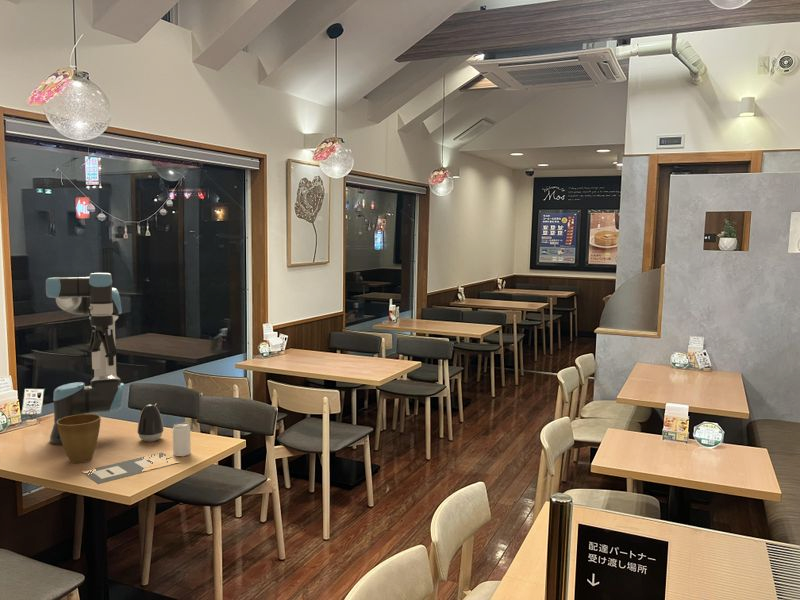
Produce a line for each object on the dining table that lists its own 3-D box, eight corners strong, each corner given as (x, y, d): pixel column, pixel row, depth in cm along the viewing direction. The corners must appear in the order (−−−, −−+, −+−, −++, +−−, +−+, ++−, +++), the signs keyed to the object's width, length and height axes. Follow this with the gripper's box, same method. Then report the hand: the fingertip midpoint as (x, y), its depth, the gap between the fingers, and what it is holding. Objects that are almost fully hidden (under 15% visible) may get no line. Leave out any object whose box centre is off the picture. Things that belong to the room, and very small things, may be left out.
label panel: (81, 471, 225) (81, 471, 224) (161, 452, 246) (161, 452, 246) (98, 483, 213) (98, 483, 213) (180, 462, 235) (180, 462, 235)
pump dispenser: (168, 436, 266) (168, 402, 265) (155, 444, 256) (154, 408, 255) (146, 435, 268) (146, 400, 267) (132, 442, 258) (131, 406, 256)
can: (185, 457, 241) (184, 427, 239) (170, 456, 242) (169, 426, 241) (193, 452, 247) (193, 422, 246) (179, 451, 248) (178, 421, 247)
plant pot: (85, 451, 246) (84, 411, 245) (110, 457, 240) (109, 417, 238) (49, 462, 233) (47, 420, 232) (74, 469, 226) (73, 426, 225)
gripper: (78, 312, 236) (80, 367, 237) (104, 318, 218) (105, 378, 220) (99, 311, 241) (100, 365, 243) (125, 317, 224) (127, 375, 225)
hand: (103, 371), depth 231 cm, fingers open, 13 cm apart
